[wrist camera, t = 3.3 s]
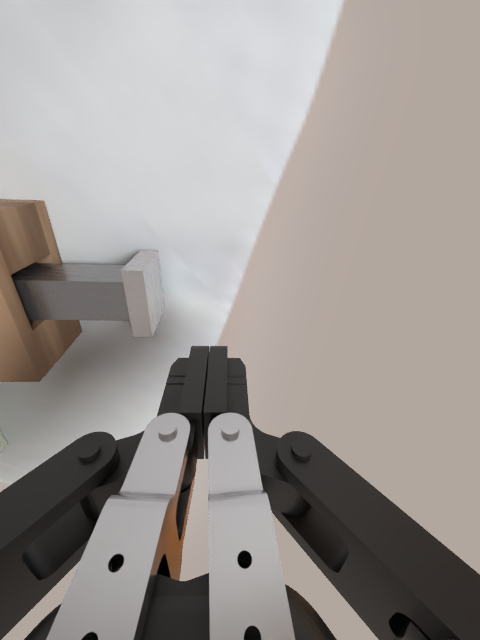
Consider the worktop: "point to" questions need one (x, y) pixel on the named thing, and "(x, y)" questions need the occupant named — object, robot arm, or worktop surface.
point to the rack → (2, 441)
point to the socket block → (4, 303)
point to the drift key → (95, 292)
